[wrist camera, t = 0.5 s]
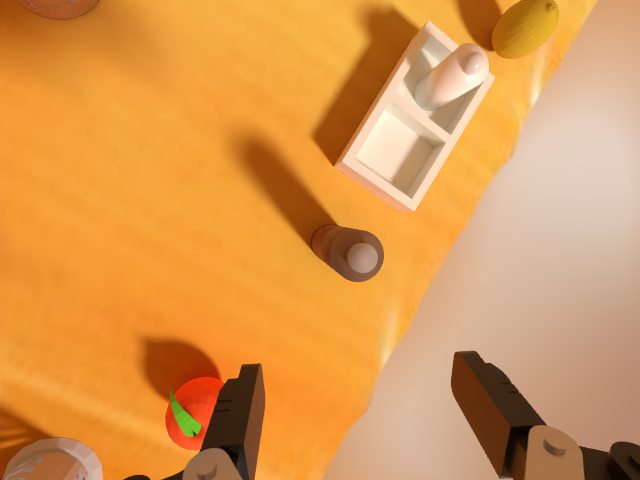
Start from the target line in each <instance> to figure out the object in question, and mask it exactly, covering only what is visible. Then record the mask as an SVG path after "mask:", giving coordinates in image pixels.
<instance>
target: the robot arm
mask: <svg viewBox="0 0 640 480" xmlns="http://www.w3.org/2000/svg"><path fill="white" fill-rule="evenodd" d="M16 1H17V2H18V3H20V4H21V5H22V6H23V7H25V8H27V9H28V10H30V11H31V12H33V13H36V14H38V15H40V16H43V17H47V18H52V19H69V18H74V17H77V16H80V15H82V14H84V13H86V12H87V11H88V10H90V9H91V8H92V7H93V6H94V5H95V4H96V2H97V1H98V0H16ZM451 387H452V392H453V395H454V397H455V399H456V401H457V403H458V405H459V406H460V408H461V410H462V412H463V413H464V415H465V417H466V419H467V421H468V423H469V424H470V426H471V428H472V430H473V432H474V433H475V435H476V437H477V439H478V440H479V442H480V444H481V446H482V448H483V449H484V451H485V453H486V455H487V457H488V458H489V460H490V462H491V464H492V465H493V467H494V469H495V471H496V473H497V474H498V476H499V478H500V479H505V478H513V480H640V446H639V445H636V444H633V443H629V442H616V443H614V444H613V445H612V446H611V449H610V451H609V452H604V451H600V450H595V449H590V448H585V447H581V446H578V445H577V444H576V442H575V441H574V440H573V439H571V438H570V437H569V436H568V435H567V434H565V433H564V432H562V431H560V430H558V429H556V428H553V427H550V426H547V425H546V424H545V422H544V421H543V420H542V419H541V417H540V416H539V415H538V414H537V413H536V411H535V410H534V409H533V408H532V406H531V405H530V404H529V403H528V402H527V400H526V399H525V398H524V397H523V396H522V394H521V393H519V391H518V389H517V388H516V387H515V386H514V385H513V384H512V382H511V381H510V380H509V378H508V377H507V376H506V375H505V374H504V373H503V372H502V371H501V370H500V369H498V368H497V367H496V366H494V365H493V364H491V363H485V362H484V361H483V360H482V358H481V357H480V356H479V354H478V353H477V352H476V351H461V352H455V354H454V360H453V368H452V377H451ZM264 410H265V390H264V382H263V374H262V366H261V364H260V363H259V364H243V365H242V366H241V370H240V374H239V377H238V378H236V379H228V380H227V382H226V383H225V384H224V385H223V386H222V388H221V389H220V391H219V394H218V397H217V401H216V404H215V407H214V410H213V413H212V416H211V419H210V422H209V425H208V428H207V431H206V434H205V437H204V440H203V443H202V446H201V449H200V451H199V453H198V454H197V455H195V456H194V457H193V458H192V459H191V460H190V461H189V463H188V464H187V466H186V468H185V469H184V470H183V471H181V472H179V473H177V474H175V475H173V476H170V477H168V478H165V479H162V480H254V479H255V472H256V465H257V458H258V451H259V444H260V437H261V431H262V424H263V417H264ZM124 480H150V478H148V477H147V476H144V475H134V476H131V477H128V478H126V479H124Z"/></svg>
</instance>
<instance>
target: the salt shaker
mask: <svg viewBox="0 0 640 480" xmlns="http://www.w3.org/2000/svg"><path fill="white" fill-rule="evenodd" d="M488 69H489V63H488V58H487V56H486V54H485V52H484V51H483V49H482V48H480V47H479V46H478V45H476V44H472V43H466V44H463V45H461V46H459V47H458V48H457V49H456V50H455V51H453V52H452V53H451V54H450V55H449V56H447V57H446V58H445V59H444V60H443V61H441V62H440V63H439V64H438V65H437V66H435V67H434V68H433V69H432V70H431V71H429V72H428V73H427V74H426V75H425V76H423V77H422V78H421V79H420V80H419V81H418V82H417V83H416V85H415V88H414V99H415V101H416V103H417V105H418V106H419V107H420V108H421V109H423V110H425V111H434V110H437V109H438V108H440V107H442V106H444V105H445V104H447V103H449V102H450V101H452V100H454V99H455V98H457V97H459V96H461V95H462V94H464V93H466V92H467V91H469V90H471V89H473V88H474V87H476V86H478V85H479V84H481V83H482V82H483V81H484V80H485V78H486V76H487V74H488Z"/></svg>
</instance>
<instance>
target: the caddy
mask: <svg viewBox="0 0 640 480" xmlns="http://www.w3.org/2000/svg"><path fill="white" fill-rule="evenodd" d="M458 47H459V46H458V45H457V44H456V43H455V42H454V41H452V40H451V39H450V38H449V37H448V36H446V35H445V34H444V33H443V32H442V31H441V30H439V29H438V28H437V27H436V26H435V25H434V24H432V23H431V22H430V21H429V20H428V22H427V23H426V24H425V25H424V26H423V27H422V28H421V30H420V31H419V32H418V33H417V34H416V35H415V36H414V37H413V39H412V40H411V41H410V43H409V45H408V46H407V48H406V49H405V51H404V53H403V54H402V56H401V58H400V59H399V61H398V63H397V64H396V66H395V67H394V69H393V71H392V72H391V74H390V76H389V77H388V79H387V80H386V82H385V84H384V85H383V87H382V89H381V90H380V92H379V93H378V95H377V97H376V98H375V100H374V102H373V103H372V105H371V106H370V108H369V110H368V111H367V113H366V115H365V116H364V118H363V119H362V121H361V123H360V124H359V126H358V128H357V129H356V131H355V132H354V134H353V136H352V137H351V139H350V141H349V142H348V144H347V145H346V147H345V149H344V150H343V152H342V154H341V155H340V157H339V158H338V160H337V162H336V163H335V165H334V167H335V168H336V169H337V170H339V171H340V172H342V173H343V174H345V175H346V176H348V177H349V178H351V179H352V180H354V181H355V182H357V183H358V184H359V185H361V186H362V187H364V188H365V189H367V190H368V191H370V192H371V193H373V194H374V195H376V196H377V197H379V198H380V199H382V200H383V201H384V202H386V203H387V204H389V205H390V206H392V207H393V208H395V209H396V210H398V211H399V212H414V211H415V210H416V208H417V206H418V205H419V203H420V201H421V200H422V198H423V196H424V195H425V193H426V192H427V190H428V188H429V187H430V185H431V183H432V182H433V180H434V178H435V177H436V175H437V173H438V172H439V170H440V168H441V167H442V165H443V163H444V162H445V160H446V158H447V157H448V155H449V154H450V152H451V150H452V149H453V147H454V145H455V144H456V142H457V140H458V139H459V137H460V135H461V134H462V132H463V130H464V129H465V127H466V125H467V124H468V122H469V121H470V119H471V117H472V116H473V114H474V112H475V111H476V109H477V107H478V106H479V104H480V102H481V101H482V99H483V97H484V96H485V94H486V92H487V91H488V89H489V88H490V86H491V84H492V83H493V81H494V79H495V78H496V77H494V76H493V75H492V74H491V73H490V72H489V71H488V74H487V76H486V78H485V80H484V81H483V82H482V83H481V84H479V85H478V86H476V87H474V88H473V89H471V90H469V91H467V92H466V93H464V94H462V95H461V96H459V97H457V98H455V99H454V100H452V101H450V102H449V103H447V104H445V105H444V106H442V107H440V108H438V109H437V110H434V111H425V110H423V109H421V108H420V107H419V106H418V105H417V103H416V101H415V99H414V88H415V85H416V83H417V82H418V81H419V80H420V79H421V78H422V77H423V76H425V75H426V74H427V73H428V72H429V71H431V70H432V69H433V68H434V67H435V66H437V65H438V64H439V63H440V62H441V61H443V60H444V59H445V58H446V57H447V56H449V55H450V54H451V53H452V52H453V51H455V50H456V49H457V48H458Z"/></svg>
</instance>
